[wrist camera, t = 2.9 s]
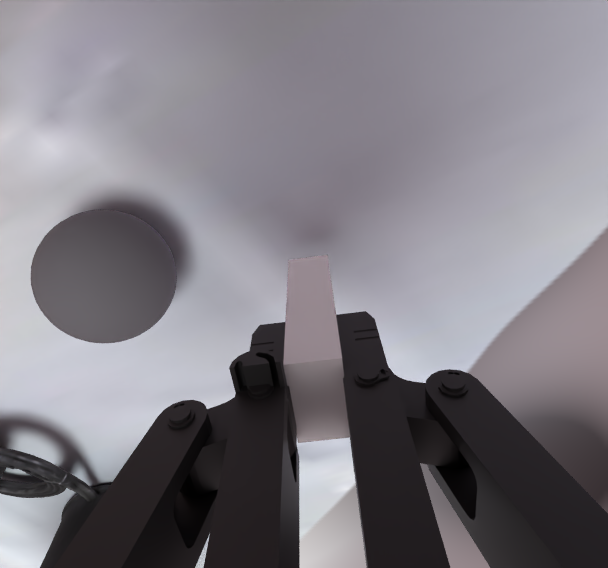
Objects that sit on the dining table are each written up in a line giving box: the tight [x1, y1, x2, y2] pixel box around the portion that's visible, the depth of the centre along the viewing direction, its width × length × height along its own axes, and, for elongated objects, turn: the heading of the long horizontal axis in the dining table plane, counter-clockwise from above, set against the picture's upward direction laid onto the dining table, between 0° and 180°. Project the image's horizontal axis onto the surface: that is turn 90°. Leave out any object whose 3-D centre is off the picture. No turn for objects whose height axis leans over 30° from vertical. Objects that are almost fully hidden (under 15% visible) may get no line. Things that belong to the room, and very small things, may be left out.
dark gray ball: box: [31, 210, 177, 343], centre depth 20 cm, size 6×6×6 cm
